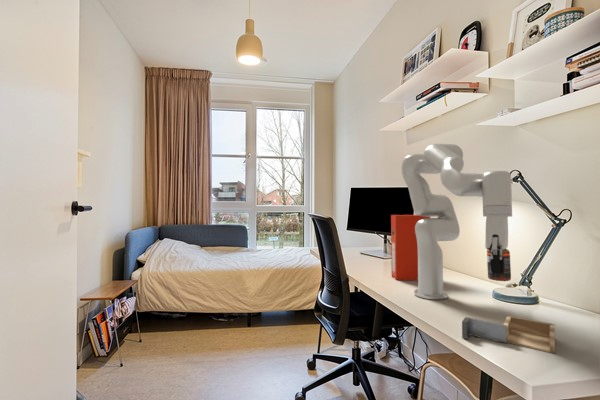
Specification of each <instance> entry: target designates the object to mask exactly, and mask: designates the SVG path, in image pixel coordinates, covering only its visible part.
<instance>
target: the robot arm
mask: <svg viewBox="0 0 600 400" xmlns="http://www.w3.org/2000/svg"><path fill="white" fill-rule="evenodd" d="M463 158H464V152H463V149H462V148H461V147H460V146H459V145H456V144H453V143H447V144H446V143H433V144H430V145H428V146H427V147H426V148H425V149H424V151H423V153H412V154H409V155H407V156H405V157H404V158H403V159H402V163H401V175H402V177H403V180H404V182H405V184H406V186H407V188H408V192H409V193H408V194H409V198H410V200H411V204H412V209H413V211H414V214H415V215H418V216H421V217H430V218H425V219H421V220H419V221H418V222H417V223H416V225H415V233H416V238H417V246H418V280H417V289H414V291H413V294H414V295H415V296H416V297H418V298H422V299H427V300H437V301H438V300H446V299H447V298H448V293H447V292H446V291H444V253H443V250H442V248H441V246H440V245H439V243H438V242H450V241H451V242H452V241H456V240H457V239H458V237H459V236H460V231H461V230H460V224H459V221H458V217H457V215H456V212H455V208H454V204H453V202H452V201H451V199H450V197H448V196H447V195H445V194H434V193H432V191H431V188H430V185H429V183H428V182H427V180H426V179H425V177H423V176H422V175H421V174H423V175H424V174H426V175H427V174H430V175H431V174H433V175H434V174H435V175H437V174H440V175H439V176H440V181H441V184H442V186H444V188H445V189H446V190H447V191H449V192H450V193H452V194H454V195H456V196H459V197H480V198H481V197H482V216H483V217H486V219H485V243H484V244H485V246H484V247H485V249H486V250H488V249H490V247H491V272H492V273H498V274H503V273H504V260H502V251H503V250H504V249H508V247H509V220H508V217H509V218H510V217H511V218H512V217H513V197H512V176H511V173H510V172H509V171H508V170H491V171H487V172H484V173H474V172H473V173H472V172H471V173H469V172H468V173H467V172H466V173H463V172H462V170H463V168H464V165H465V162H464V159H463ZM500 245H501V247H500ZM498 247H500V248H501V249H498Z"/></svg>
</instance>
